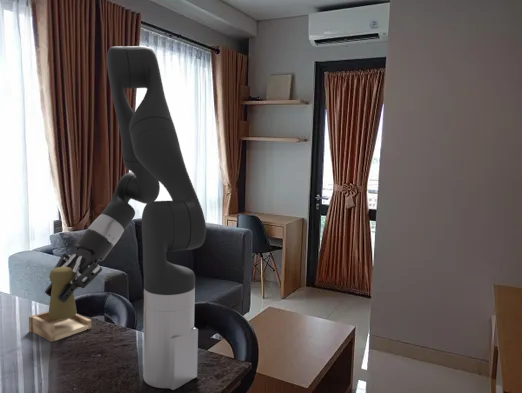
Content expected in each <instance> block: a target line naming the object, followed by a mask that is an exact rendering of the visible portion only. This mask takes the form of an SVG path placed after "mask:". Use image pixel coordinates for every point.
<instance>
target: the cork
mask: <svg viewBox="0 0 522 393" xmlns="http://www.w3.org/2000/svg"><path fill="white" fill-rule="evenodd" d="M72 270H73V269H72V268H70V267H58V268H55V267H54V268H53V269H52V270H50V272H49V281H50V282H51V283H52V290H51V297H50V296H49V297H50V299H49V306H48V311H49V313H48V317H49V318H51V319H67V318H70V317H73V316H75V315H76V314H78V313H77V312H78V311H77V305H76V298H75V291H74V292H73V293H72V294H71V296H70V297H69V298H68V299H67V301H66V302H62V301H60V300H59V299H57V296H58V294H59V293H60V292H61V290H62V289H63V288H64V287H65V285H66V284H69V280H70V279H71V278H72V276H73V273H72Z"/></svg>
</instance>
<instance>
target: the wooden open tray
mask: <svg viewBox="0 0 522 393" xmlns="http://www.w3.org/2000/svg"><path fill="white" fill-rule="evenodd" d="M48 313H49V310H48V311H45V312H41V313H38V314H34V315H31V316H29V317H28V328H29V329H28V330H29V331H28V332H30V333H33V334H36V335H38V336H39V337H41V338H43V339H45V340H47V341H49V342H51V343H53V342H54V341H55V342H56V341H58V340H61V339H64V338H66V337H70V336H73V335H76V334H79V333H81V332H84V331H87V329H88V330H90V329H92V319H90V318H88V317H85V316H82V315H81V314H79V313H77V314H76V315H75V316H73V317H70V318H67V319H51V318H49V317H48Z"/></svg>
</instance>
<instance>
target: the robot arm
mask: <svg viewBox="0 0 522 393" xmlns="http://www.w3.org/2000/svg"><path fill="white" fill-rule="evenodd" d="M106 67H107V68H106V69H107V74H108V75H107V76H108V80H109V81H108V82H109V87H110V91H111V97H112V101H113V106H114V107H113V108H114V111H115V115H116V120H117V122H118V123H117V125H118V127H119V128H118V129H119V134H120V140H121V151H122V154H121V155H122V161H123V166H124V167H125V168H126V169H127V170H129V171H128V172H127V173H126V174H123V175H122V177H121V178H120V179H119V181H118V183H117V185H116V188H115V190H114V192H113V194H112V197H111V199H110V202H109V203H108V205H107V206H106V207H105V208H104V209H103V211H102V212H101V213H100V215H99V216H97V218H95V219H94V221H93V222H92V223H91V224H90V225H89V226H88V228H87V229H86V230H85V231H84V233H82V235H81V236H80V238H78V240H77V241H76V243H75V244H76V247H77V249H76V250H74V252H73V253H71V254H67V253H66V252H64V253H63V254H62V255H61V257H60V258H59V260H58V262H57V263H56V265H55V267H54V268H58V267H70V268H72V269H73V270H72V273H73V276H72V278H71V279H70V280H69V284H66V285H65V287H64V288H63V289H62V290H61V292H60V293H59V294H58V296H57V299H59V300H60V301H62V302H66V301H67V299H68V298H69V297H70V296H71V294H72V293H73V292H74V293H75V291H76V290H78V289H79V288H81V289H85V288H86V287H87V286H88V285H89V284H90V283H91V282H92V281H93V280H94V279H95V278H96V277H97V276H98V275H99V274H101V273H102V270H103V268H102V267H101V266H100V265H99V262H102V261H104V260H105V259H106V257H107V256H108V255H109V253H110V252H111V251H112V249H113V248H114V246H115V245H116V244H117V243H118V241H119V240H120V238H121V237H122V235H123V233H125V232H124V231H125V230H126V229H127V227H128V226H129V225H130V223H131V222H132V221H133V220H134V218H135V216H136V210H135V208H134V207H133V206H132V205H131V204H129V202H130V200H134V201H137V202H138V203H139V202H140V203H141V204H145V206H144V207H143V210H142V215H141V240H142V243H141V244H142V269H143V337H142V338H143V341H142V342H143V343H142V344H143V346H142V347H143V351H142V352H143V354H142V355H143V356H142V358H143V359H142V360H143V362H142V363H143V364H142V366H143V368H142V376H143V377H142V378H143V381H144V382H145V383H146V384H147V385H149V386H150V387H153V388H158V389H170V390H172V391H174V390H176V389H178V388H181V387H182V386H183V385H185V384H187V383H189V382H191V381H192V380H193V379H195V378H197V377H198V356H199V354H198V352H199V349H198V348H199V347H198V345H199V343H198V341H199V329H198V328H197V327H195V304H196V303H195V300H196V299H195V296H196V295H195V294H196V292H195V291H196V275H195V272H194V270H192V269H190V268H189V267H186V266H183V265H179V264H175V263H171V262H169V261H168V260H167V253H168V252H178V251H188V250H189V251H190V250H195V249H199V248H200V247H202V246H203V245H204V243H205V240H206V234H207V224H206V220H205V219H206V218H205V215H204V212H203V208H202V205H201V202H200V201H199V200H200V199H199V198H198V195H197V193H196V190H195V188H194V185H193V183H192V181H191V178H190V176H189V172H188V170H187V167H186V163H185V161H184V157H183V153H182V150H181V146H180V141H179V137H178V132H177V130H176V127H175V123H174V121H173V118H172V115H171V112H170V110H169V105H168V102H167V99H166V95H165V91H164V86H163V81H162V75H161V70H160V65H159V62H158V57H157V55H156V53H155V51H154V50H153V49H152V48H151V47H149V46H143V45H141V46H140V45H135V46H134V45H133V46H131V45H127V46H124V45H123V46H122V45H120V46H119V45H118V46H116V45H115V46H111V47H109V48H108V50H107V54H106ZM126 89H127V90H128V89H146V92H145V94H144V96H143V99H142V100H141V102H140V103H139V105H138V106H137V107H136V110H133V108H132V107H131V105H130V103H129V101H128V98H127V95H126ZM160 184H161V185H162V186H163V187H164V189H166V191H167V193H168V194H169V196H170V199H171V200H157V199H158V197H159V194H160V189H161V186H160ZM51 290H52V282H51V283H50V284H49V285H48V286H47V288H46V289H45V290H44V294H46V295H47V296H49V297H51Z"/></svg>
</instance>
